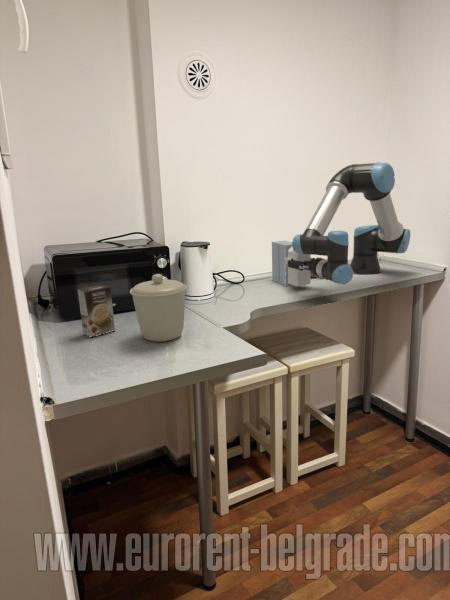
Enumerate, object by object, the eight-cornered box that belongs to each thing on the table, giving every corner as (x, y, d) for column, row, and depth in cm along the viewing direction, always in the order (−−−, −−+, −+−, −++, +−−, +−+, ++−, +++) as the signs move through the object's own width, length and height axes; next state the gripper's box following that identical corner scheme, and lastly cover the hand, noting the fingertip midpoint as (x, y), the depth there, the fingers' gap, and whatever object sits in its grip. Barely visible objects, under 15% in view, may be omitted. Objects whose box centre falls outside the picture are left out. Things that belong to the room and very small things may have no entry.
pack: (285, 278, 213) (284, 240, 208) (299, 284, 200) (299, 243, 195) (271, 280, 210) (271, 241, 205) (285, 286, 198) (285, 245, 193)
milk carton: (300, 281, 198) (300, 240, 193) (310, 284, 192) (310, 241, 187) (287, 283, 195) (287, 241, 190) (297, 286, 189) (297, 243, 183)
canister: (166, 350, 130) (160, 283, 124) (123, 341, 139) (115, 277, 134) (201, 332, 144) (197, 270, 139) (160, 324, 154) (154, 266, 148)
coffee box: (91, 338, 143) (84, 292, 139) (82, 334, 148) (76, 289, 143) (116, 331, 149) (110, 286, 145) (107, 327, 154) (101, 283, 149)
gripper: (300, 280, 171) (274, 270, 191) (344, 274, 178) (314, 265, 198) (300, 261, 169) (274, 253, 189) (345, 256, 176) (314, 249, 196)
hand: (294, 259), depth 194 cm, fingers closed on milk carton, 8 cm apart
